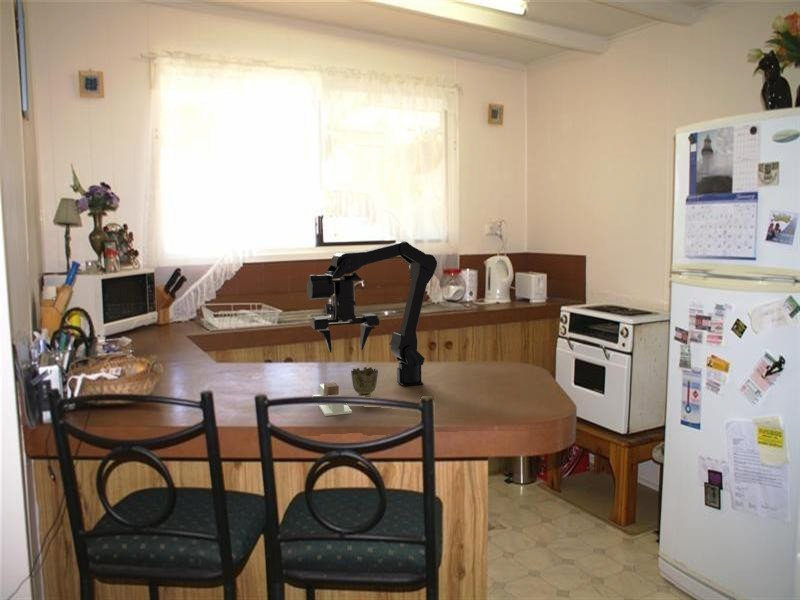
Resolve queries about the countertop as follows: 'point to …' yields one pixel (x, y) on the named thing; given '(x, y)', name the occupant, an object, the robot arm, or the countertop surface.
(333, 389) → the brown rectangular block
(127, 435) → the countertop surface
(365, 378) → the cup
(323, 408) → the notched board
